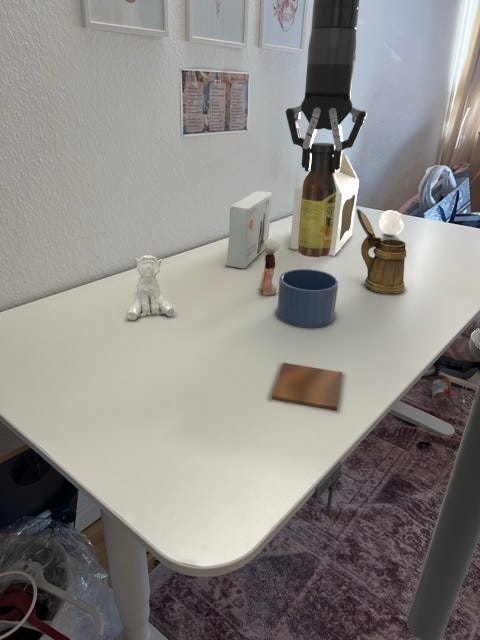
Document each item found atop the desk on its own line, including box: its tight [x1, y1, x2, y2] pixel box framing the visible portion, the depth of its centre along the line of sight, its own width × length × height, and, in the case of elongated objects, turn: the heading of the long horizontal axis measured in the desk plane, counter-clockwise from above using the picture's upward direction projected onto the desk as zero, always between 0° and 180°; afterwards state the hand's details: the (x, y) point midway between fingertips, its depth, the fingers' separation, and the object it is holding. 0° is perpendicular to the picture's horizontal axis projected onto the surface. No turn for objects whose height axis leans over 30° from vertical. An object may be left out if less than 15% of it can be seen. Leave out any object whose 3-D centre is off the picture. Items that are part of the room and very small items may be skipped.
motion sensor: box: [378, 209, 404, 236], centre depth 152 cm, size 8×8×8 cm
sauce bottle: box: [297, 142, 337, 258], centre depth 87 cm, size 6×6×20 cm
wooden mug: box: [356, 208, 407, 295], centre depth 112 cm, size 9×14×18 cm, turn 69°
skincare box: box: [226, 190, 273, 269], centre depth 129 cm, size 21×5×16 cm, turn 160°
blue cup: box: [277, 268, 339, 329], centre depth 99 cm, size 12×12×8 cm
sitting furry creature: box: [126, 254, 175, 321], centre depth 98 cm, size 10×9×12 cm
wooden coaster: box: [271, 362, 343, 411], centre depth 77 cm, size 10×10×1 cm
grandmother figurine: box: [259, 238, 280, 296], centre depth 108 cm, size 8×4×13 cm, turn 12°
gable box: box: [289, 143, 360, 257], centre depth 139 cm, size 22×13×28 cm, turn 156°
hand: (320, 171), depth 85 cm, fingers closed on sauce bottle, 4 cm apart
